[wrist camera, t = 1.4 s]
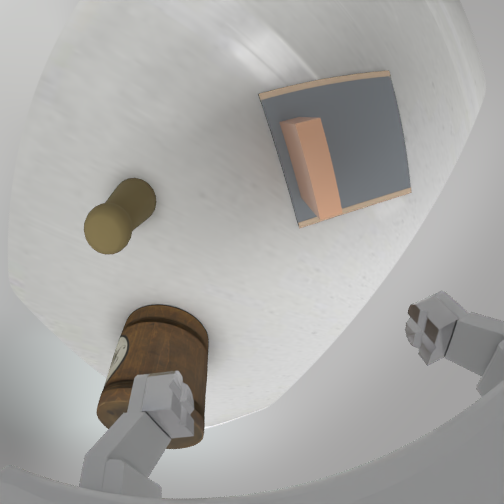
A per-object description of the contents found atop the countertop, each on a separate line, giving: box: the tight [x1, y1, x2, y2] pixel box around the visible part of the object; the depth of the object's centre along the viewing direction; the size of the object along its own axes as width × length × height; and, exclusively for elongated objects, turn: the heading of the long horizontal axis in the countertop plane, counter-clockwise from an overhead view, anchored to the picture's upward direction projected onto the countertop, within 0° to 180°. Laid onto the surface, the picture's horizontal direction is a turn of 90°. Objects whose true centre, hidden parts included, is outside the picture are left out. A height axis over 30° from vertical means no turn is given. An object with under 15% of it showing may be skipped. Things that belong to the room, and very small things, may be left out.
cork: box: [84, 178, 156, 254], centre depth 28 cm, size 6×6×11 cm
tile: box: [279, 117, 343, 221], centre depth 29 cm, size 2×10×8 cm, turn 18°
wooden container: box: [97, 305, 208, 449], centre depth 35 cm, size 15×15×22 cm
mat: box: [258, 71, 411, 228], centre depth 32 cm, size 18×18×1 cm
